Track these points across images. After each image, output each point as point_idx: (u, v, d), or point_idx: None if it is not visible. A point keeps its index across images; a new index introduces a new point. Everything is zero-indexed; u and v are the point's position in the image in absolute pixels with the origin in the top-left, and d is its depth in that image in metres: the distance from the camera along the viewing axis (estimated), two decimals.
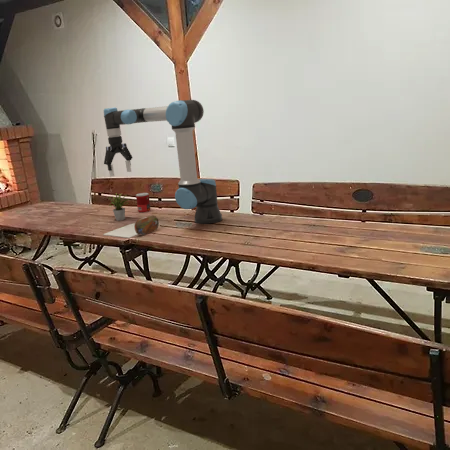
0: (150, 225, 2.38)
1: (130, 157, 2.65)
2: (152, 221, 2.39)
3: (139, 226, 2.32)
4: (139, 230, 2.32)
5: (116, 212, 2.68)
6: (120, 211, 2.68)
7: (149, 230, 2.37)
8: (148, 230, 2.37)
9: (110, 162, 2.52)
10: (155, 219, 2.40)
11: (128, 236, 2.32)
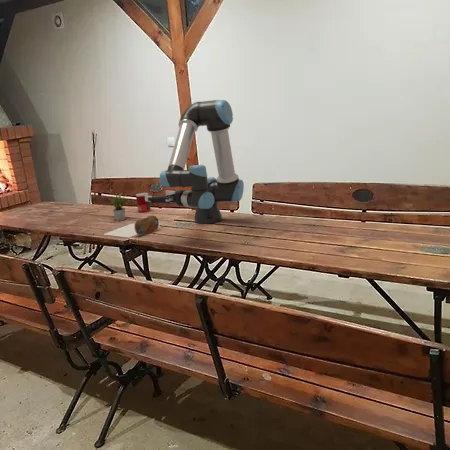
0: (150, 225, 2.38)
1: None
2: (152, 221, 2.39)
3: (139, 226, 2.32)
4: (139, 230, 2.32)
5: (116, 212, 2.68)
6: (120, 211, 2.68)
7: (149, 230, 2.37)
8: (148, 230, 2.37)
9: (177, 191, 2.27)
10: (155, 219, 2.40)
11: (128, 236, 2.32)
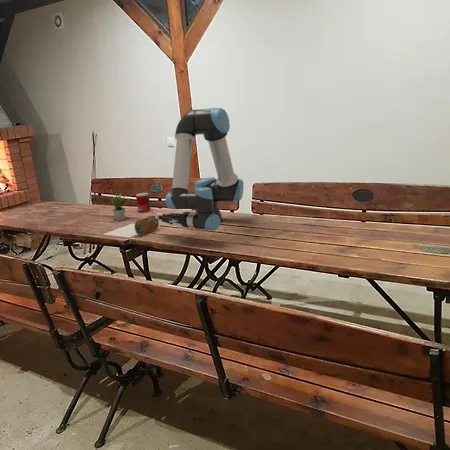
0: (150, 225, 2.38)
1: None
2: (152, 221, 2.39)
3: (139, 226, 2.32)
4: (139, 230, 2.32)
5: (116, 212, 2.68)
6: (120, 211, 2.68)
7: (149, 230, 2.37)
8: (148, 230, 2.37)
9: (169, 214, 2.26)
10: (155, 219, 2.40)
11: (128, 236, 2.32)
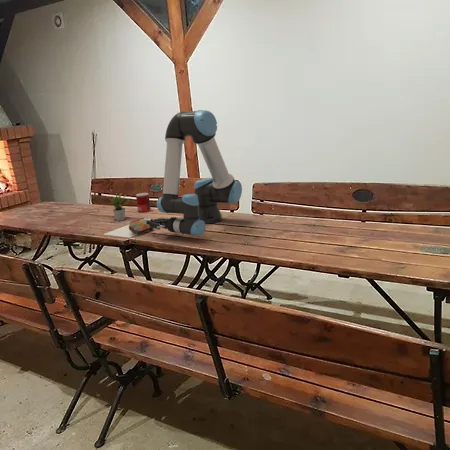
0: (145, 224, 2.40)
1: (151, 221, 2.30)
2: None
3: (133, 226, 2.35)
4: (134, 228, 2.34)
5: (116, 212, 2.68)
6: (120, 211, 2.68)
7: (146, 227, 2.38)
8: (145, 227, 2.38)
9: (156, 219, 2.33)
10: None
11: (128, 236, 2.32)
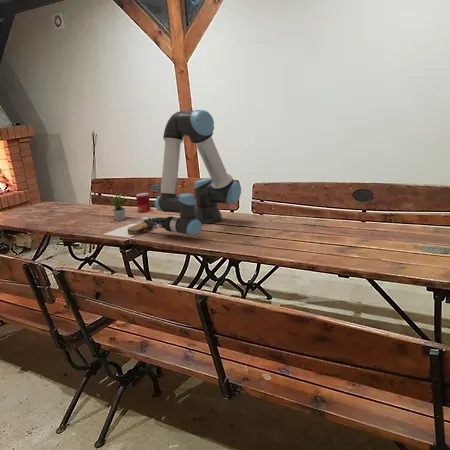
0: (143, 226, 2.41)
1: (149, 221, 2.31)
2: (144, 224, 2.44)
3: (131, 229, 2.37)
4: (133, 230, 2.35)
5: (116, 212, 2.68)
6: (120, 211, 2.68)
7: (144, 227, 2.39)
8: (143, 227, 2.39)
9: (154, 218, 2.34)
10: None
11: (128, 236, 2.32)
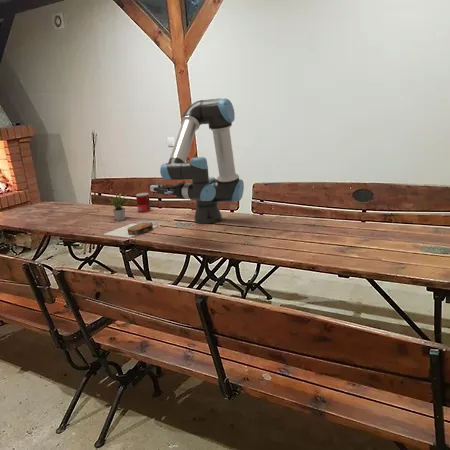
0: (143, 226, 2.41)
1: None
2: (144, 224, 2.44)
3: (131, 229, 2.37)
4: (133, 230, 2.35)
5: (116, 212, 2.68)
6: (120, 211, 2.68)
7: (144, 227, 2.39)
8: (143, 227, 2.39)
9: (164, 186, 2.23)
10: (146, 223, 2.46)
11: (128, 236, 2.32)
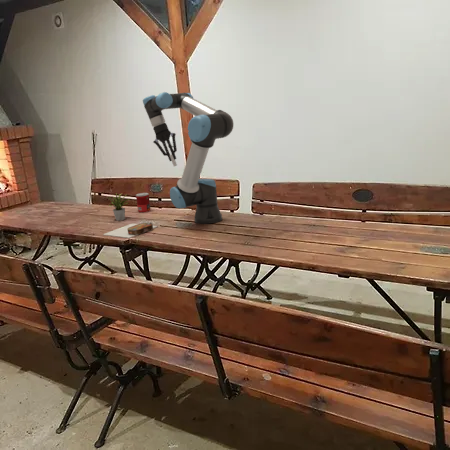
0: (143, 226, 2.41)
1: None
2: (144, 224, 2.44)
3: (131, 229, 2.37)
4: (133, 230, 2.35)
5: (116, 212, 2.68)
6: (120, 211, 2.68)
7: (144, 227, 2.39)
8: (143, 227, 2.39)
9: (167, 153, 2.48)
10: (146, 223, 2.46)
11: (128, 236, 2.32)
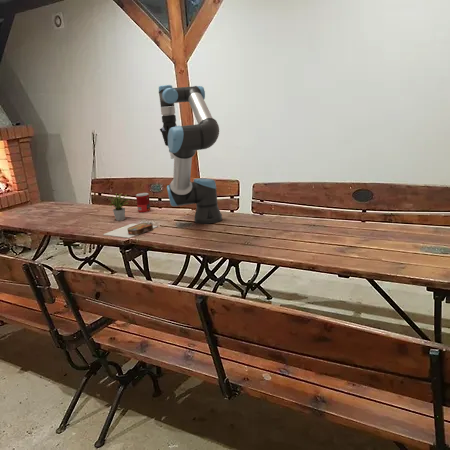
0: (143, 226, 2.41)
1: None
2: (144, 224, 2.44)
3: (131, 229, 2.37)
4: (133, 230, 2.35)
5: (116, 212, 2.68)
6: (120, 211, 2.68)
7: (145, 227, 2.39)
8: (143, 227, 2.39)
9: (168, 144, 2.52)
10: (146, 223, 2.46)
11: (128, 236, 2.32)
